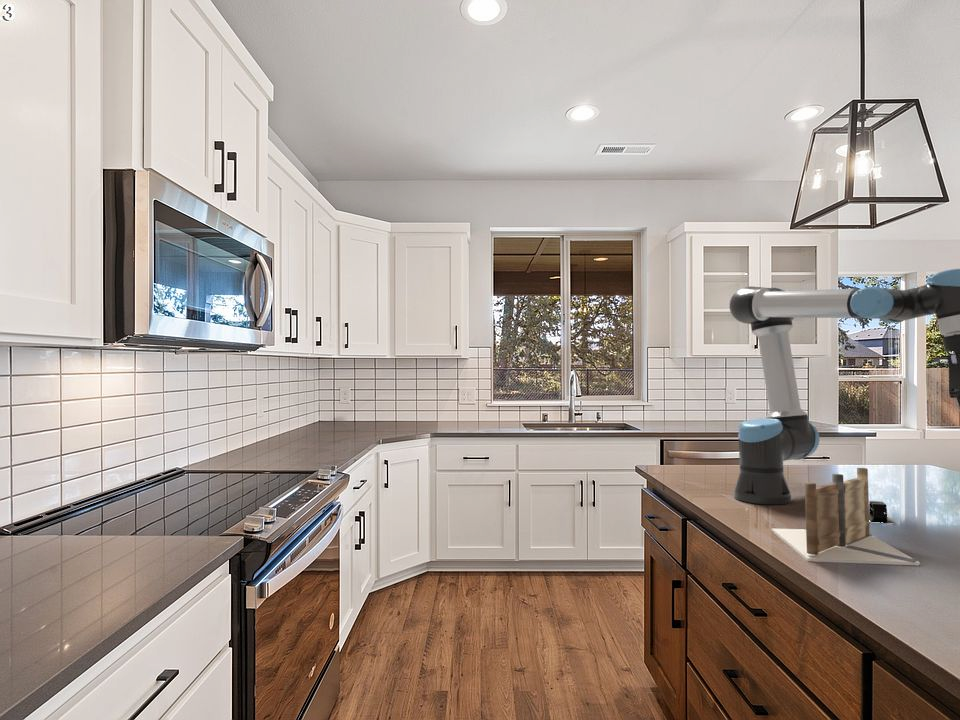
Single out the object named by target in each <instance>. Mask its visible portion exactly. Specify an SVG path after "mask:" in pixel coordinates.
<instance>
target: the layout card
mask: <svg viewBox="0 0 960 720" xmlns="http://www.w3.org/2000/svg"><path fill="white" fill-rule="evenodd" d="M771 532H772V533H773V534H775V536H777V537H778V538H779V539H780V540H782V541H783V542H784V543H785V544H786V545H787V546H789V547H790V548H791V549H792V550H794V551H795V552H796V553H797V554H798V555H799V556H800V557H802V558H803V559H804V560H805V561H807V562H817V563H840V564H841V563H843V564H844V563H845V564H846V563H847V564H868V565H869V564H870V565H871V564H873V565H894V566H895V565H896V566H919V565H921V564H920V562H921V561H918V559H914V558H912V557H911V556H909V555H907V554H906V553H904V552H902V551H900V550H898V549H897V548H895V547H893V546H891V545H890V544H888V543H886V542H884V541H883V540H881V539H879V538H878V537H876V536H874V535H873V534H871V533H870V536H865V537H862V538H860V539H857V540H855V541H852V542H850V543H848V544H846V546H843V547H842V546H834V547H832V548H829V549H827V550H824V551H822V552H819V553H818V555H812V554H808V553H807V541H806V528H805V529H804V528H803V529H802V528H801V529H799V528H771Z"/></svg>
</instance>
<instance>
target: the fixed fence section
mask: <svg viewBox="0 0 960 720" xmlns="http://www.w3.org/2000/svg"><path fill="white" fill-rule="evenodd" d="M868 469H869V468H866V467H857V468H856V475H857V477H854V478H852V479H847V480H844V474H841V473H832V475H831V477H832V479H831V480H832V482H831V483H837V484H838V488H839V494H838V512H839V531H840V537H839V542H840V544H839V545H837V546H842V547H843V546H846V544H848V543H850V542H852V541H855V540H857V539H860V538H862V537H865V536H870V534H871V531H870V530H871V527H870V524H871V522H869V501H870V499H869V494H870V493H869V474H868V473H869V472H868V471H869V470H868Z"/></svg>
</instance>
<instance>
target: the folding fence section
mask: <svg viewBox="0 0 960 720" xmlns="http://www.w3.org/2000/svg"><path fill="white" fill-rule="evenodd" d="M838 494H839V488H838V484H837V483H833V482H829V483H825V484H821V485H818V486H817V483H816V482H815V483H814V482H804V500H805V503H804V505H805V508H804V509H805V529H806V541H807V553H808V554H812V555H818V553H819V552H822V551H824V550H827V549H829V548H832V547H834V546H837V545H839V544H840V542H839V537H840V531H839V512H838Z"/></svg>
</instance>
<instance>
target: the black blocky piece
mask: <svg viewBox="0 0 960 720" xmlns="http://www.w3.org/2000/svg"><path fill="white" fill-rule="evenodd" d="M887 516H888V509H887V504H886V503H885V502H884V501H879V500H878V501H876V500H869V520H870V521H871V522H880V523H879V524H886V523H894V520H893V519H891V518H890V517H889V516H888V517H889V518H890V519H891V520H890V519H889V518H888V517H887ZM871 522H870V523H871ZM881 522H883V523H881Z"/></svg>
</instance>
